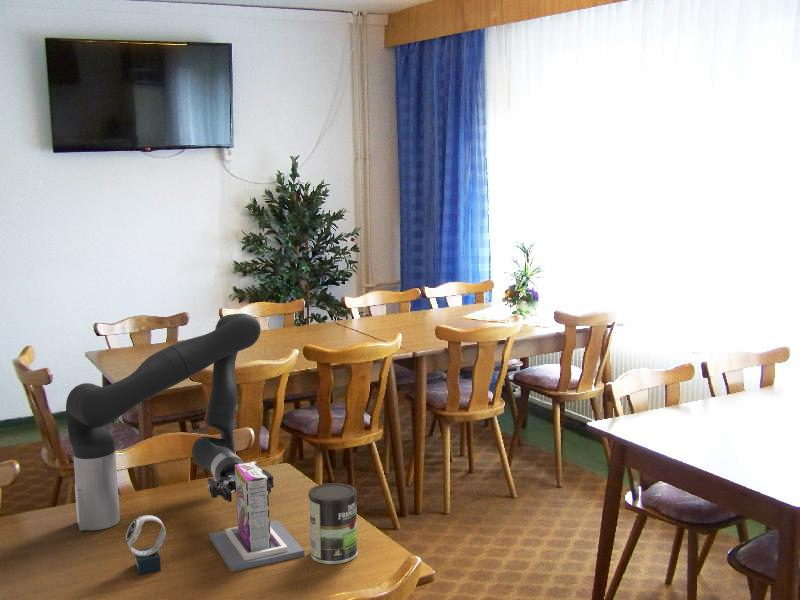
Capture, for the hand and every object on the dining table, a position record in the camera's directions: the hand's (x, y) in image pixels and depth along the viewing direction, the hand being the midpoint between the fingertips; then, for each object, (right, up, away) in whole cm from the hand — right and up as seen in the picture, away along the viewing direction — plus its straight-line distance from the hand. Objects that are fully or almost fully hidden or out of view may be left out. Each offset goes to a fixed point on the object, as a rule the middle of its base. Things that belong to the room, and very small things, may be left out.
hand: (249, 494), depth 185 cm
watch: (-19, -13, -10) cm, 26 cm away
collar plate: (+2, -11, -1) cm, 12 cm away
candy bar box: (+1, -10, -1) cm, 11 cm away
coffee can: (+19, -12, -5) cm, 23 cm away
